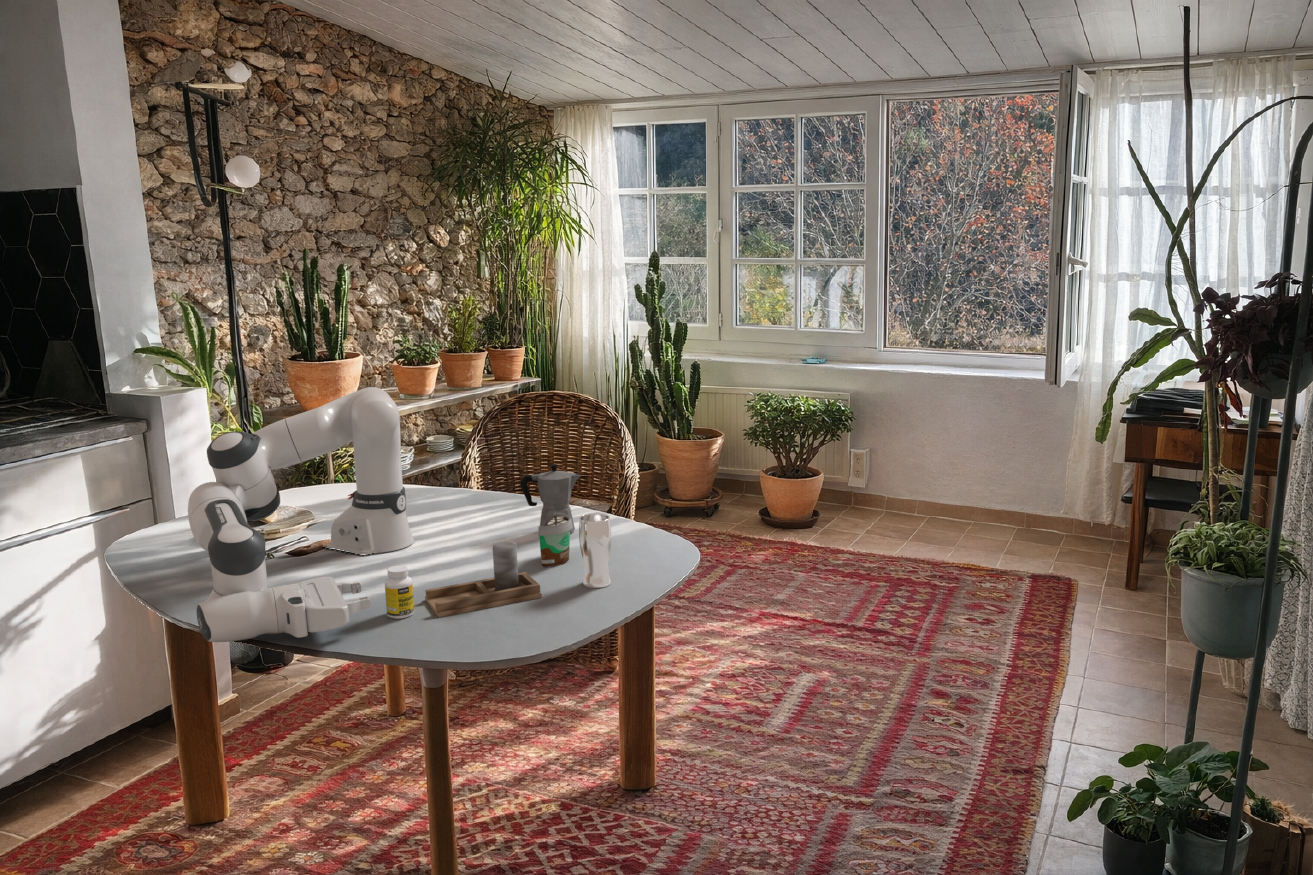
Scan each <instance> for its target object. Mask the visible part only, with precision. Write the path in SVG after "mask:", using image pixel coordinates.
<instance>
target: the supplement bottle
mask: <svg viewBox="0 0 1313 875" xmlns="http://www.w3.org/2000/svg"><path fill="white" fill-rule="evenodd" d="M408 575H409V567H408V566H406V565H393V566H390V567H388V569H387V577H388V578H387V579H386V580H385V581H384V592H385V593H384V594H385V606H386V615H387V617H388V618H390V619H397V620H400V619H406V618H409V617H411V616H413V615H414V613H415V603H414V602H415V601H414V600H415V599H414V588H413V580H412V578H411V577H410V576H408Z"/></svg>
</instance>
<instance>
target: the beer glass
mask: <svg viewBox="0 0 1313 875" xmlns="http://www.w3.org/2000/svg"><path fill="white" fill-rule="evenodd" d="M578 536H579V537H578V540H579V547H580V553H581V557H582V561H583V568H584V573H583V580H582V581H583V582H582V585H583V586H584V587H586V588H589V589H600V588H606V587H609V586H610V585H611V582H612V581H611V576H610V571H609V570H610V568H609V563H610V562H609V561H610V554H611V548H612V528H611V518H610V515H608V514H606V513H596V512H595V513H587V514H583V515H581V516H580V517H579V525H578Z"/></svg>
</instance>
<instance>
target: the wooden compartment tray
mask: <svg viewBox="0 0 1313 875" xmlns="http://www.w3.org/2000/svg"><path fill="white" fill-rule="evenodd" d="M517 548H518V546H517V543H514V542H510V541H507V542H506V541H504V542H498V543H497V542H496V543H495V544H493V545H492V558H493V577H489V578H485V579H484V578H483V579H479V580H473V581H468V582H463V583H462V582H461V583H456V584H451V585H445V586H440V587H434V588H429V589H425V596H424V600H425V602H426V603H427V604H428V605H429V607H430V609H431V610H432V611H433V613H434V614H435V615H436V617H438V618H443V617H448V616H454V615H458V614H463V613H468V612H469V613H470V612H475V611H479V610H484V609H489V608H495V607H501V606H505V605H510V604H516V603H522V602H526V601H530V600H535V599H536V600H537V599H541V598H543V594H542V593H541V585H540V584H539V583H538V582H537V581H536V580H535V579H534V578H533V577H532V576H530V575H529V574H528V573H527V571H523V572H519V567H518V566H519V565H518V564H519V563H518V550H517Z"/></svg>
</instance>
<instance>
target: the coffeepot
mask: <svg viewBox="0 0 1313 875" xmlns="http://www.w3.org/2000/svg"><path fill="white" fill-rule="evenodd" d="M550 466H551V470H549V471H546V472H545V471H544V472H542V473H541V472H540V473H539V474H537V473H536V474H526V475H524V476H523V478H522V479H521V480H520V482H519V486H520V488H521V490H522V492H523V495H524V497H525V499H526V502H527V504H528V506H529V507H537V505H538V502H535V501H533V500H532V499H533V498H532V495H531V493H530V489H529V486H528V483H537V488H538V493H539V498H540V501H541V502H542V509H541V511H540V512H541V514H540V522H539V526H544V525H545V523H546V522H547V521H548V520H551V519H552V518H553V513H562V514H566V515H568V516H569V517H570V519H571V521H572V525H573V528H572V529H571V530H570V535H572V534H574V532H575V530H576V527H575V523H574V518H573V515H572V509H571V506H570V500H571V499H572V497H571V496H572V490H573V488H574V486H575V484H576V482H577V480H578V479H579V478H581V475H580V474H579V473H575V472H568V471H564V470H563V471H562V470H557V469H558V464H557V463H556V464H555V463H552V464H550Z"/></svg>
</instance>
